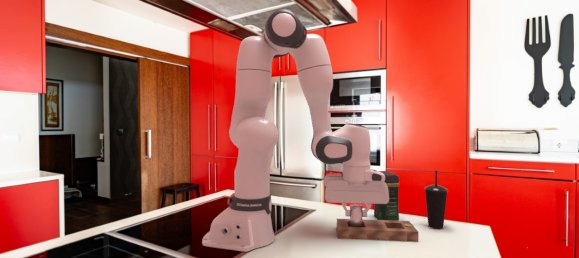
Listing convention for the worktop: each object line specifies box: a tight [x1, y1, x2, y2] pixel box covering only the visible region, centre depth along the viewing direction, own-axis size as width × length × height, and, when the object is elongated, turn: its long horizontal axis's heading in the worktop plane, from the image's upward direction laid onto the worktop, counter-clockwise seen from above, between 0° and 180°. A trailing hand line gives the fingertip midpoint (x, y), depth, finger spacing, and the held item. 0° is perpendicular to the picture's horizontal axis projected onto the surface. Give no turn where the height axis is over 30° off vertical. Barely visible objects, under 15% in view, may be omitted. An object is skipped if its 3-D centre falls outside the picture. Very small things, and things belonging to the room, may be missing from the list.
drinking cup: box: [424, 170, 449, 230], centre depth 107 cm, size 8×8×20 cm
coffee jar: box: [373, 170, 400, 221], centre depth 114 cm, size 10×8×19 cm
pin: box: [349, 203, 363, 227], centre depth 99 cm, size 4×4×9 cm
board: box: [336, 218, 419, 243], centre depth 98 cm, size 24×10×4 cm, turn 84°
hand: (356, 216), depth 99 cm, fingers closed on pin, 4 cm apart
